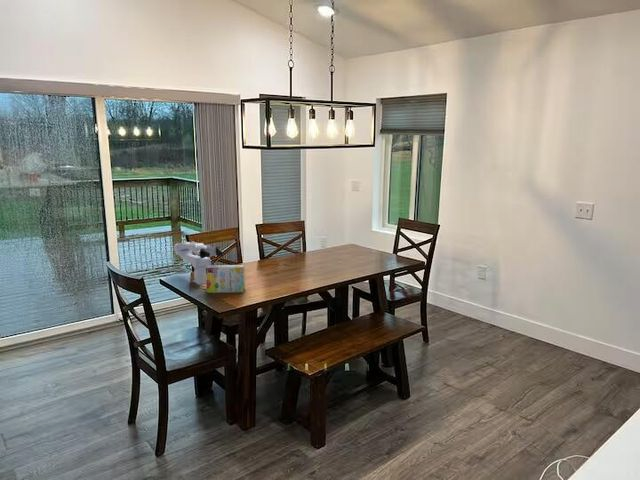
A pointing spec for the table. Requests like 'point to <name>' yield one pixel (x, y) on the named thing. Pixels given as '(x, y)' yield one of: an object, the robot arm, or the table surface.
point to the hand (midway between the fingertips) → (215, 254)
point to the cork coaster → (203, 286)
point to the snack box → (225, 278)
